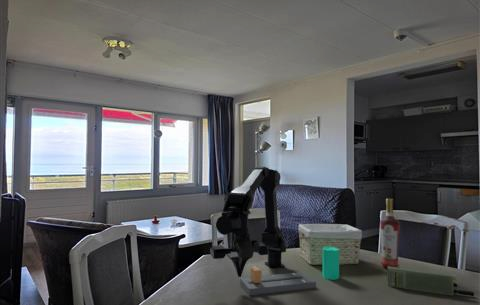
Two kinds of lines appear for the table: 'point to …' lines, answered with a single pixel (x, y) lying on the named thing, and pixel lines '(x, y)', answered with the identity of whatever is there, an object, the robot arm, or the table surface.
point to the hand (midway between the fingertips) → (239, 276)
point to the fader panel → (278, 283)
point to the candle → (330, 263)
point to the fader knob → (255, 274)
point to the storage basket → (329, 242)
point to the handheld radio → (424, 281)
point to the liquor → (389, 237)
